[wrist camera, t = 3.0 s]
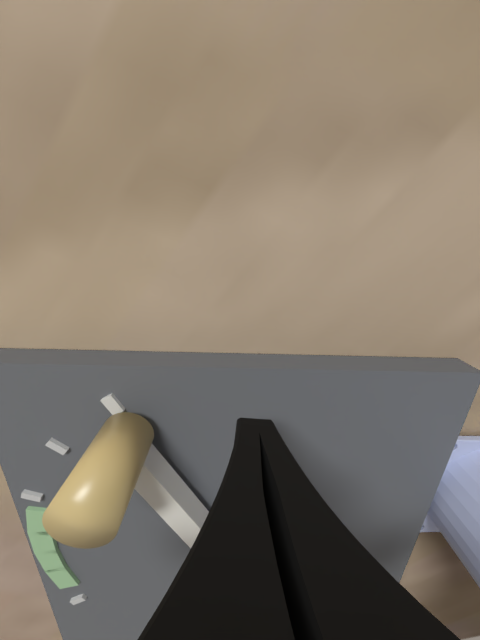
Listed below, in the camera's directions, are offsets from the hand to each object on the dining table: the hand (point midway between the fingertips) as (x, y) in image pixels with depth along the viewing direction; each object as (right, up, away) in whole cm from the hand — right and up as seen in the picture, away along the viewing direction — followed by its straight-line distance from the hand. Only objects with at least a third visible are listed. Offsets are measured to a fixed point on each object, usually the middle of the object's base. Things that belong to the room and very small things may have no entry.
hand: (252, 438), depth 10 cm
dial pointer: (-3, -5, +4) cm, 7 cm away
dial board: (-1, -8, +7) cm, 11 cm away
